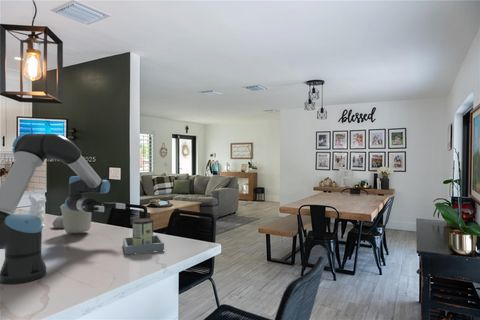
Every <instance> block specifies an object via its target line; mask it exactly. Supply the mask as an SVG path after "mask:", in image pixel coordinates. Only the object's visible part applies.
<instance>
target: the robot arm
mask: <svg viewBox="0 0 480 320" xmlns="http://www.w3.org/2000/svg"><path fill="white" fill-rule="evenodd" d="M12 147H13V148H12V153H13V158H14V161H13V163H12V165H11V168H10V169H9V171H8V173H7V174H6V176H5V178H4V180H3V182H2V184H1V186H0V250H4V260H3V264H2V265H1V268H0V283H1V284H6V285H7V284H8V285H14V284H23V283H28V282H29V283H30V282H32V281H35V280H39V279H41V278H43V277H45V276H46V275H47V266H46V263H45V260H44V257H43V256H42V243H43V242H42V239H43V238H42V237H43V235H42V233H43V232H42V231H43V227H42V224H41V219H40V218H39V217H38V216H35V215H29V213H24V214H23V213H15V211H16V210H17V208H18V205H19V204H20V202H21V200H22V197H23V196H24V193H25V191H26V190H27V187H28V185H29V183H30V182H31V179H32V177H33V176H34V173H35V171H36V169H37V168H40V167H41V166H42V165H43V164H44V162H45V160H59V161H60V162H61V163H62V164H64V165H67V166H68V167H69V168H70V169H71V170H72V171H73V172H74V173H75V174H76V176H75V175H73V176H70V177H69V183H68V197H67V198H66V199H65V201H64V203H63V204H65V207H66V208H67V209H69V210H72V211H83V213H84V212H92V213H94V212H100V213H104V212H105V209H114V208H115V209H119V210H121V209H122V210H126V203H121V202H119V201H116V202H106V201H105V202H104V201H102V202H100V201H97V200H96V199H95V198H89V197H84V195H85V194H101V195H102V194H107V193H109V192H110V188H111V182H110V181H109V180H107V179H102V178H101V177H100V175H98V174H97V172H96V171H95V170H94V169H93V167H92V166H91V165H90V164H89V162H87V160H86V159H85V158H84V157H83V156H82V151H81V150H80V148H79V147H78V146H77V145H76V144H75V143H74V142H73V141H71V140H70V139H68V138H67V137H64V136H63V135H60V134H58V133H57V134H56V133H33V132H30V133H23V134H20V135H18V136H17V137H16V138H15V139H14V140H13V143H12Z"/></svg>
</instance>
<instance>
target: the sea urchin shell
mask: <svg viewBox="0 0 480 320" xmlns="http://www.w3.org/2000/svg"><path fill="white" fill-rule="evenodd" d="M52 226H53V228H55V229H65V228H64V223H63V218H62V214H61V215H59V216H57V217H56V218H55V219H54V220H53V221H52Z"/></svg>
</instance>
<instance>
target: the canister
mask: <svg viewBox="0 0 480 320" xmlns="http://www.w3.org/2000/svg"><path fill="white" fill-rule="evenodd" d="M59 208H60V210H61V215H62V218H63V223H64V228H63V229H64V230H65V231H64V232H66V234H77V233H78V234H79V233H83V232H84V233H85V232H88V231H89V230H90V229H91V226H92V225H91V224H92V213H93V212H84V213H83V211H72V210H69V209H67V208H66V207H65V204H64V203H63V204H61V206H59Z"/></svg>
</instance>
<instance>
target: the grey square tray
mask: <svg viewBox="0 0 480 320" xmlns="http://www.w3.org/2000/svg"><path fill="white" fill-rule="evenodd" d="M156 242H157V243H156ZM128 245H129V246H128ZM122 247H123V250H124V255H125V256H128V255H127V254H132V255H136V254H135V253H141V254H146V253H145V252H151V253H155V252H154V251H161V252H164V251H165V242H164V241H163V240H162V238H161V237H160V235H159V234H155V235H154V234H153V244H143V245H133V236H131V237H123V238H122ZM163 250H164V251H163Z"/></svg>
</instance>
